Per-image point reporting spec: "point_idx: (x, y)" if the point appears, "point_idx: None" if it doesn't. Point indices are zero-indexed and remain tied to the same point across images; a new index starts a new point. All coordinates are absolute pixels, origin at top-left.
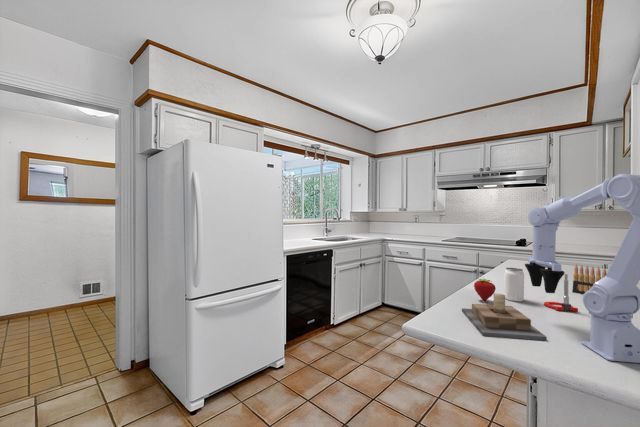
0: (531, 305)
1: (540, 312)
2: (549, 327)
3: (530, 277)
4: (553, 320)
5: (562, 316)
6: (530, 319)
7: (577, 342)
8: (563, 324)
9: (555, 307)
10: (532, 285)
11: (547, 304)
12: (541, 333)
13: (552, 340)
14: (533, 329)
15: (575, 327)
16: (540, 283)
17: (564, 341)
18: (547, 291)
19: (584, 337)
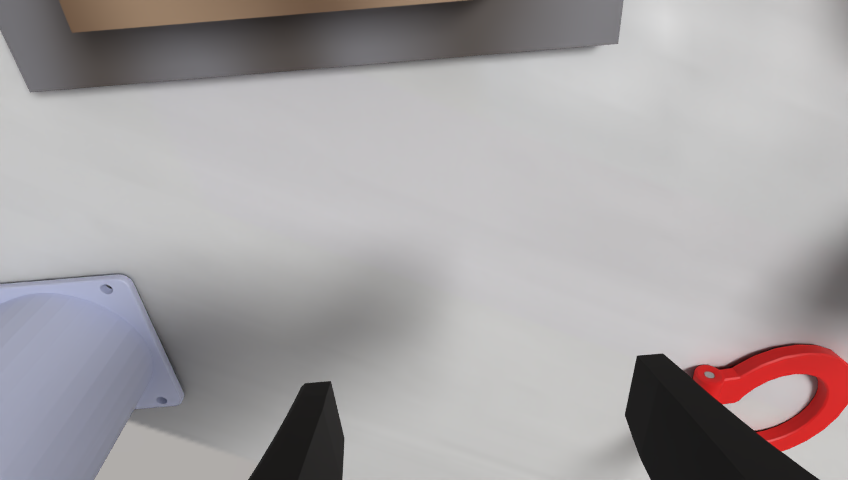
0: (820, 270)
1: (663, 269)
2: (354, 209)
3: (752, 436)
4: (507, 284)
5: (592, 355)
6: (79, 31)
7: (136, 260)
8: (442, 308)
9: (717, 377)
10: (661, 356)
11: (787, 360)
12: (90, 81)
13: (79, 128)
14: (160, 51)
15: (406, 344)
16: (641, 451)
17: (108, 197)
18: (297, 402)
19: (247, 323)
